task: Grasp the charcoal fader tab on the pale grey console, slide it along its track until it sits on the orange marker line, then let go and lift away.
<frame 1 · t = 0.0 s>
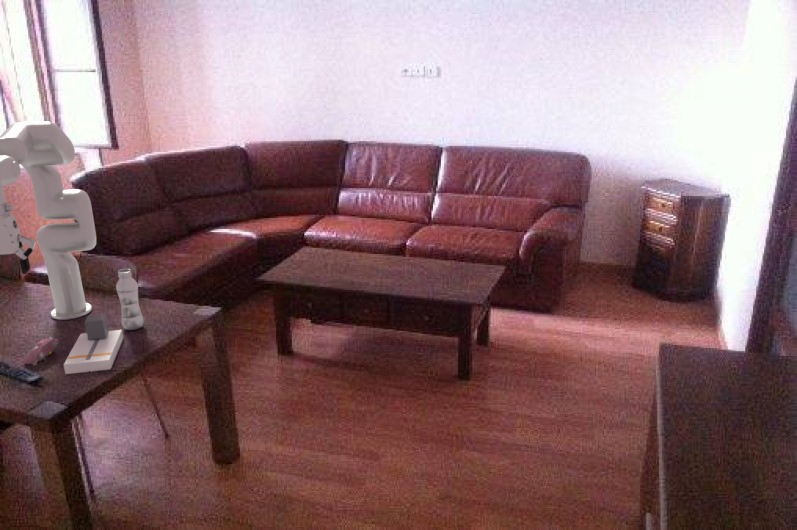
hand: (6, 273, 169), 31 cm above the table, tool pointing down, fingers open, 9 cm apart
fader tab: (96, 327, 195), point 6 cm above the table, slide at 0.0 cm
pink toy car: (43, 358, 191), on the table
fader console: (96, 355, 192), on the table
plastic bottle: (133, 328, 209), on the table
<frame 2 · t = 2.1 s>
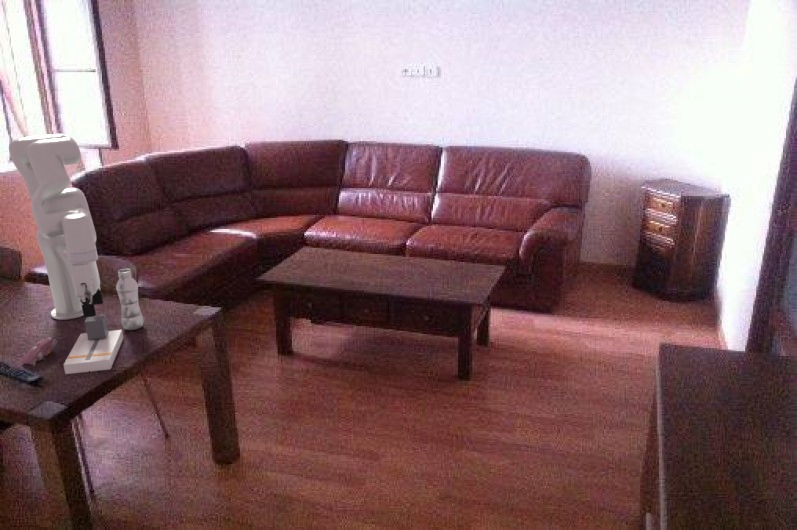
hand: (93, 310, 192), 12 cm above the table, tool pointing down, fingers open, 9 cm apart
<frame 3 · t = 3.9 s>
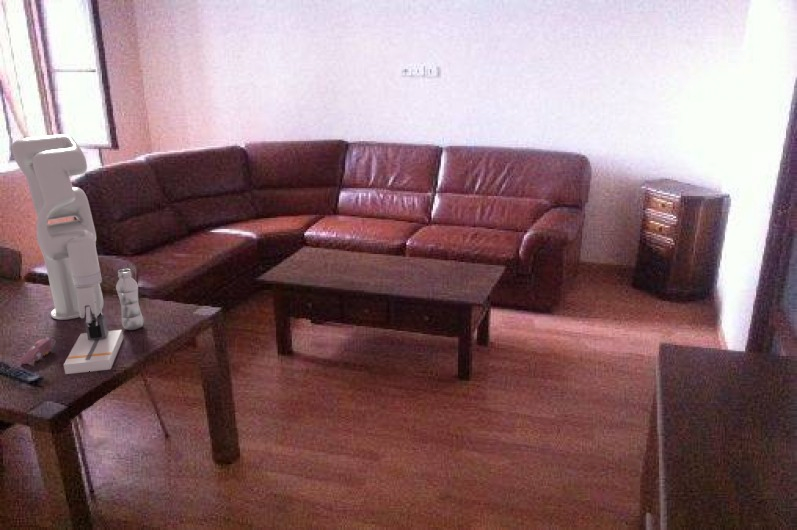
hand: (97, 333, 196), 4 cm above the table, tool pointing down, fingers closed on fader tab, 4 cm apart
fader tab: (96, 327, 195), point 6 cm above the table, slide at 0.0 cm, touching gripper
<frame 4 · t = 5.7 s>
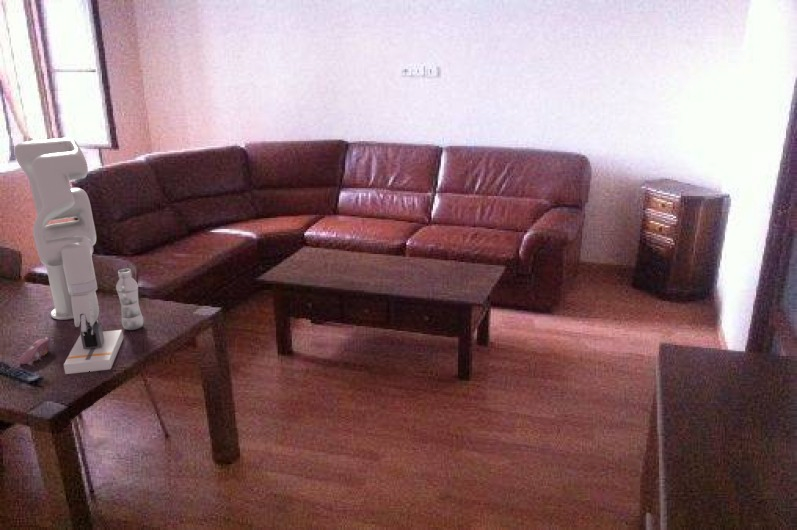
hand: (93, 342, 190), 4 cm above the table, tool pointing down, fingers closed on fader tab, 4 cm apart
fader tab: (92, 335, 190), point 6 cm above the table, slide at 5.9 cm, touching gripper
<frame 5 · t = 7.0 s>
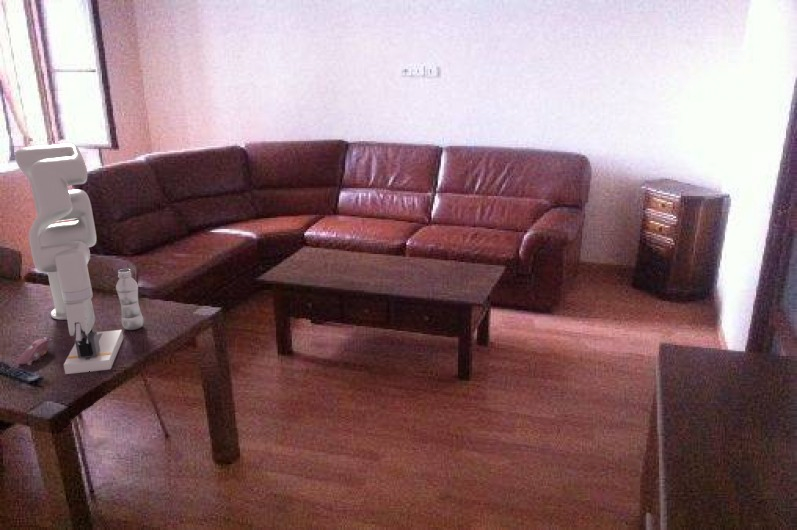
hand: (88, 351, 185), 4 cm above the table, tool pointing down, fingers closed on fader tab, 4 cm apart
fader tab: (87, 344, 184), point 6 cm above the table, slide at 11.8 cm, touching gripper
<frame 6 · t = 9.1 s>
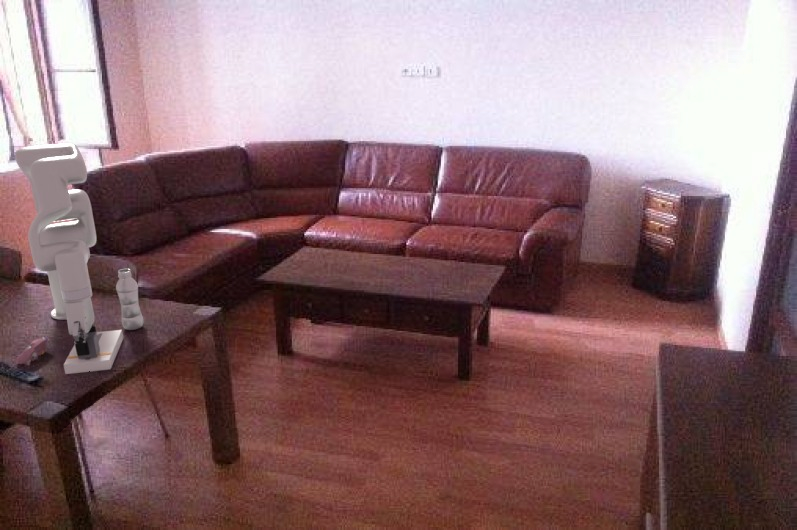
hand: (87, 346, 184), 6 cm above the table, tool pointing down, fingers open, 9 cm apart
fader tab: (87, 345, 184), point 6 cm above the table, slide at 12.0 cm
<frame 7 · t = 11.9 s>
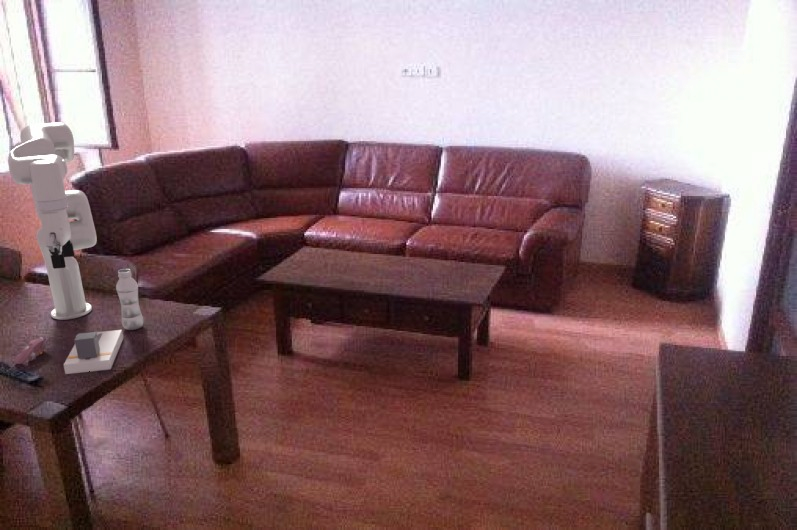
hand: (64, 262, 186), 28 cm above the table, tool pointing down, fingers open, 9 cm apart
at the end: fader tab slide at 12.0 cm; the gripper is holding nothing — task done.
